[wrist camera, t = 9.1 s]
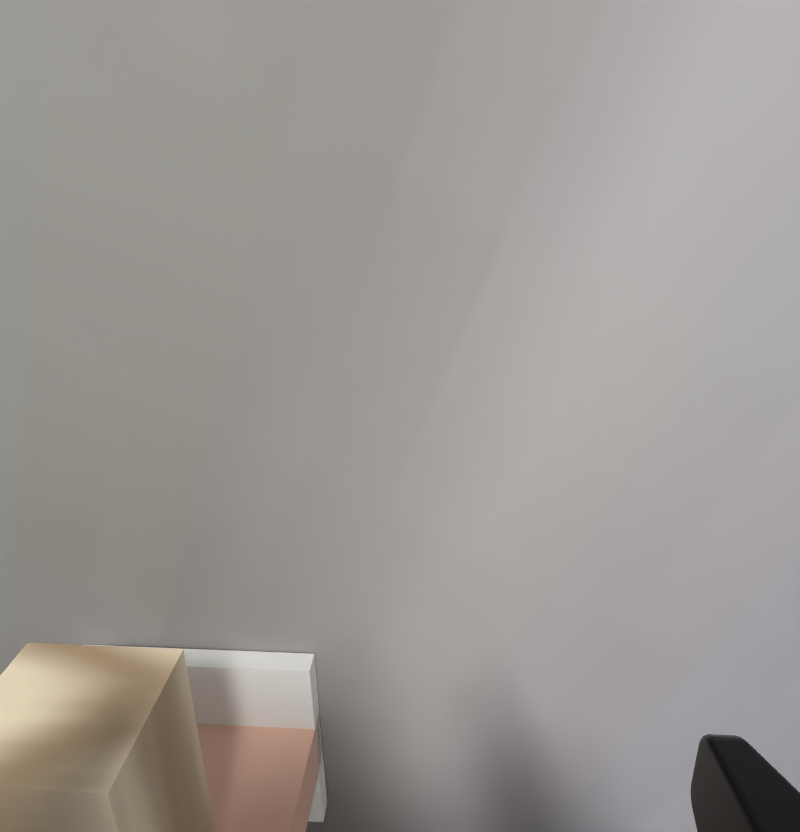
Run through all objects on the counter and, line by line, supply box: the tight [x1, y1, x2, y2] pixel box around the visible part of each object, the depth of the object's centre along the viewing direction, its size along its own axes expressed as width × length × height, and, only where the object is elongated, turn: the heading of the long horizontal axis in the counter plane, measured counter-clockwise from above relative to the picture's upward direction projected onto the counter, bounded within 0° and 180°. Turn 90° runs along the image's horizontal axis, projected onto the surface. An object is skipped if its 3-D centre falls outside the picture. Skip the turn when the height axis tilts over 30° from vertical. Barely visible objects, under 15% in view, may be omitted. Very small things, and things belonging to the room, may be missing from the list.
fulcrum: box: [92, 645, 327, 832], centre depth 23 cm, size 8×7×5 cm
